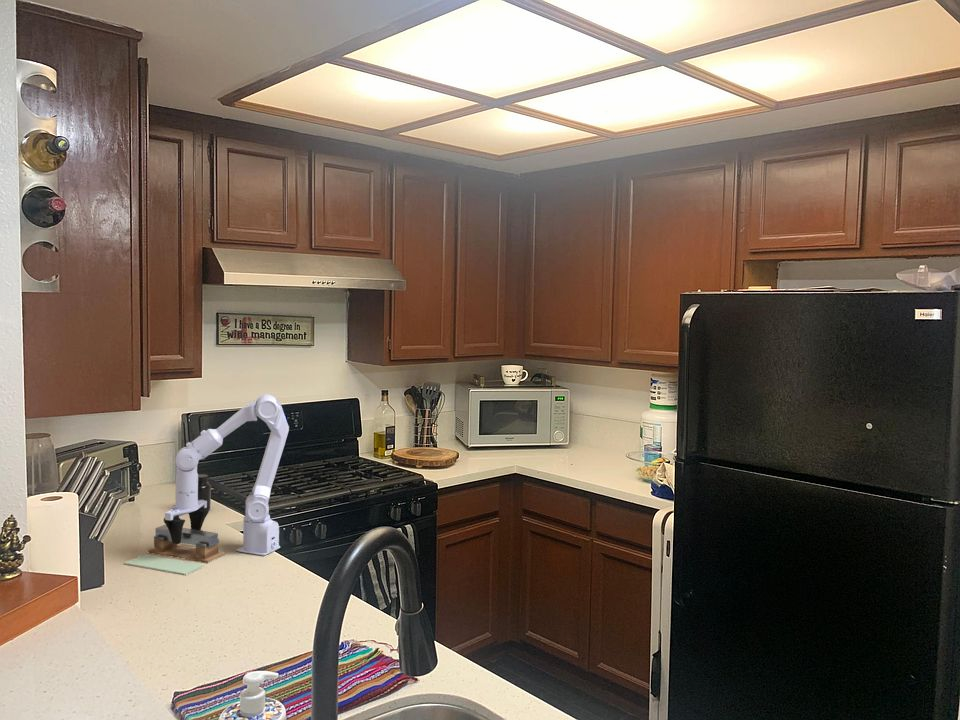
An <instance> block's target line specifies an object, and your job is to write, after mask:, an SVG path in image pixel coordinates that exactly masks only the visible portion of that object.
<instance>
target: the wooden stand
mask: <svg viewBox="0 0 960 720" xmlns="http://www.w3.org/2000/svg"><path fill="white" fill-rule="evenodd" d="M219 542H220V540H219V538H218V544H216V545H214V546H212V547H206V544H202V543H196V545H195V547H192V546H191V547H189V546H185V545H179V544H175V543H173V542H172V541H166V540H164V537H159V536H155V535H154V536H153V548H151V549H148V550H147V553H148V552H149V553H148V554H152V553H154V554H153V555H158V554H160V556H164V555H167V556H166V557H169V556H173V557H172V558H175V557H179V558H178V559H181V558H185V559H184V560H187V559H190V560H189V561H193V560H194V562H198V561H201V562H200V563H204V562H206V564H209V563H211V562H213V561H215V560H217V558H218V559H219V557H220V558H222V557H224V556H225V555H226V553H225V552H221V551H220V549H219V548H220V547H219V546H220V545H219ZM223 555H224V556H223ZM221 556H222V557H221ZM214 559H215V560H214ZM212 560H213V561H212ZM210 561H211V562H210ZM208 562H209V563H208Z"/></svg>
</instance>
